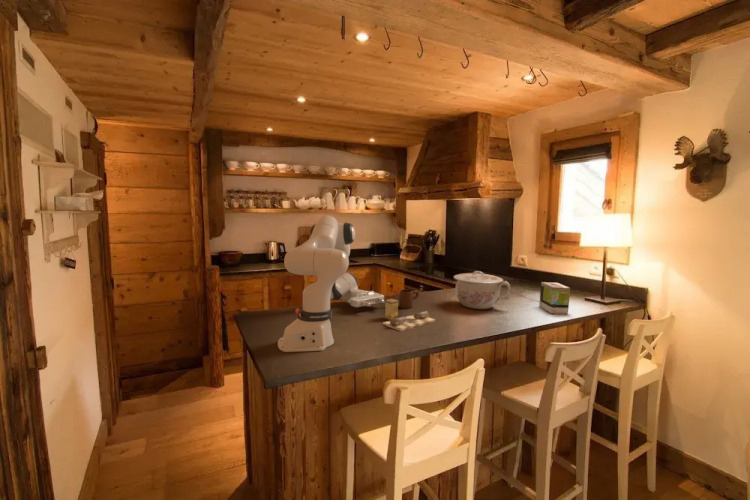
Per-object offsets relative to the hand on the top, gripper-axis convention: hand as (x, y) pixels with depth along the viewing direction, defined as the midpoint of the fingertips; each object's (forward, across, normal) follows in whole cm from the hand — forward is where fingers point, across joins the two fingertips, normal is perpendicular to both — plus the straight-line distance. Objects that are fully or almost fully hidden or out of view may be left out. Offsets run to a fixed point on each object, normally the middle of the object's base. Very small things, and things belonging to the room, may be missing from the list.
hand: (376, 303), depth 195 cm
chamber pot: (+24, +55, +6) cm, 61 cm away
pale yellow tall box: (+11, 0, +6) cm, 13 cm away
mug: (+1, +23, +6) cm, 24 cm away
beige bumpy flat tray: (+22, +2, +5) cm, 23 cm away
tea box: (+54, +84, +6) cm, 100 cm away
